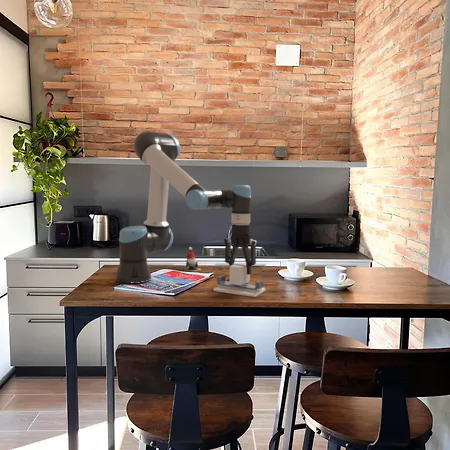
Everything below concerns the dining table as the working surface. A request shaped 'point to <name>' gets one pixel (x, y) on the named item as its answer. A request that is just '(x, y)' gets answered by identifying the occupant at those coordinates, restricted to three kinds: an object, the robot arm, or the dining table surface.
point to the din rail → (243, 287)
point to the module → (237, 274)
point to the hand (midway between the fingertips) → (239, 281)
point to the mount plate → (239, 291)
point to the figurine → (192, 261)
